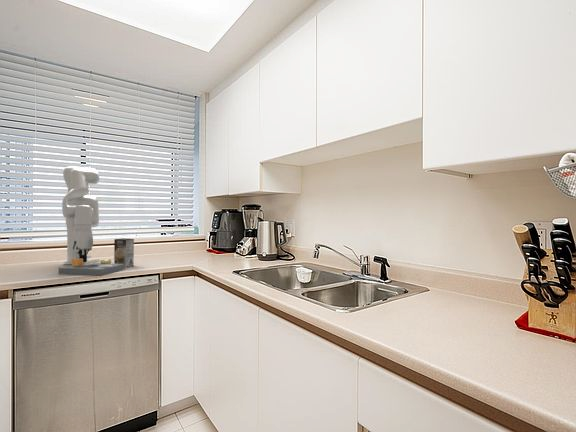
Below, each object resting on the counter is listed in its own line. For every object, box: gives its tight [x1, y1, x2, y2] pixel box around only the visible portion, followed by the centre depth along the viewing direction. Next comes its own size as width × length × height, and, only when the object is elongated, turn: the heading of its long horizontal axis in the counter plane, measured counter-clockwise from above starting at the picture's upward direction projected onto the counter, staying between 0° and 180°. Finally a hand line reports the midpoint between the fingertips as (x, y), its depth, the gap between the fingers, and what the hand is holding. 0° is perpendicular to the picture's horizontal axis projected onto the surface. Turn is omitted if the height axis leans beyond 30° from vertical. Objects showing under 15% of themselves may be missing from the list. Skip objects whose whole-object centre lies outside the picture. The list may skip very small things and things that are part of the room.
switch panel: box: [58, 262, 126, 276], centre depth 164 cm, size 18×24×4 cm
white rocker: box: [85, 258, 101, 264], centre depth 164 cm, size 4×5×2 cm
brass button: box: [100, 258, 112, 264], centre depth 163 cm, size 5×5×2 cm
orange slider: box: [71, 258, 83, 266], centre depth 163 cm, size 3×4×4 cm
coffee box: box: [113, 237, 135, 268], centre depth 184 cm, size 9×6×16 cm
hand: (83, 262), depth 167 cm, fingers closed
